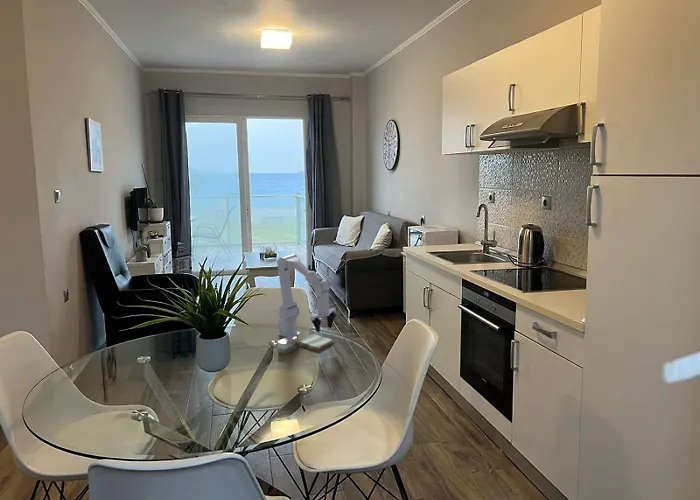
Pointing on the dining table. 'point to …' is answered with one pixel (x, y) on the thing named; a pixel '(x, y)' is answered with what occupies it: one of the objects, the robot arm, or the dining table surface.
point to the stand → (315, 342)
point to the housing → (287, 345)
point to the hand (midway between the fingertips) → (323, 329)
